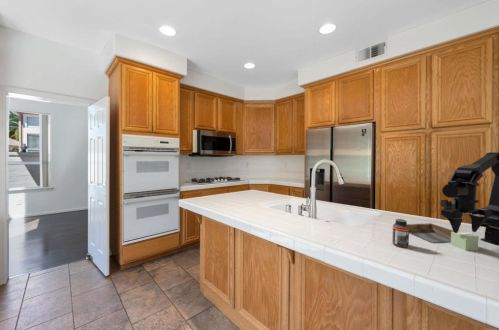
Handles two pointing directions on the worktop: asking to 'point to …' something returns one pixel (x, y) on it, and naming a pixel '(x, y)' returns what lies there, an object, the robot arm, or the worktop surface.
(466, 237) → the cube
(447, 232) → the corner arena
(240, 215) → the worktop surface
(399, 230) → the supplement bottle
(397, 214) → the worktop surface
